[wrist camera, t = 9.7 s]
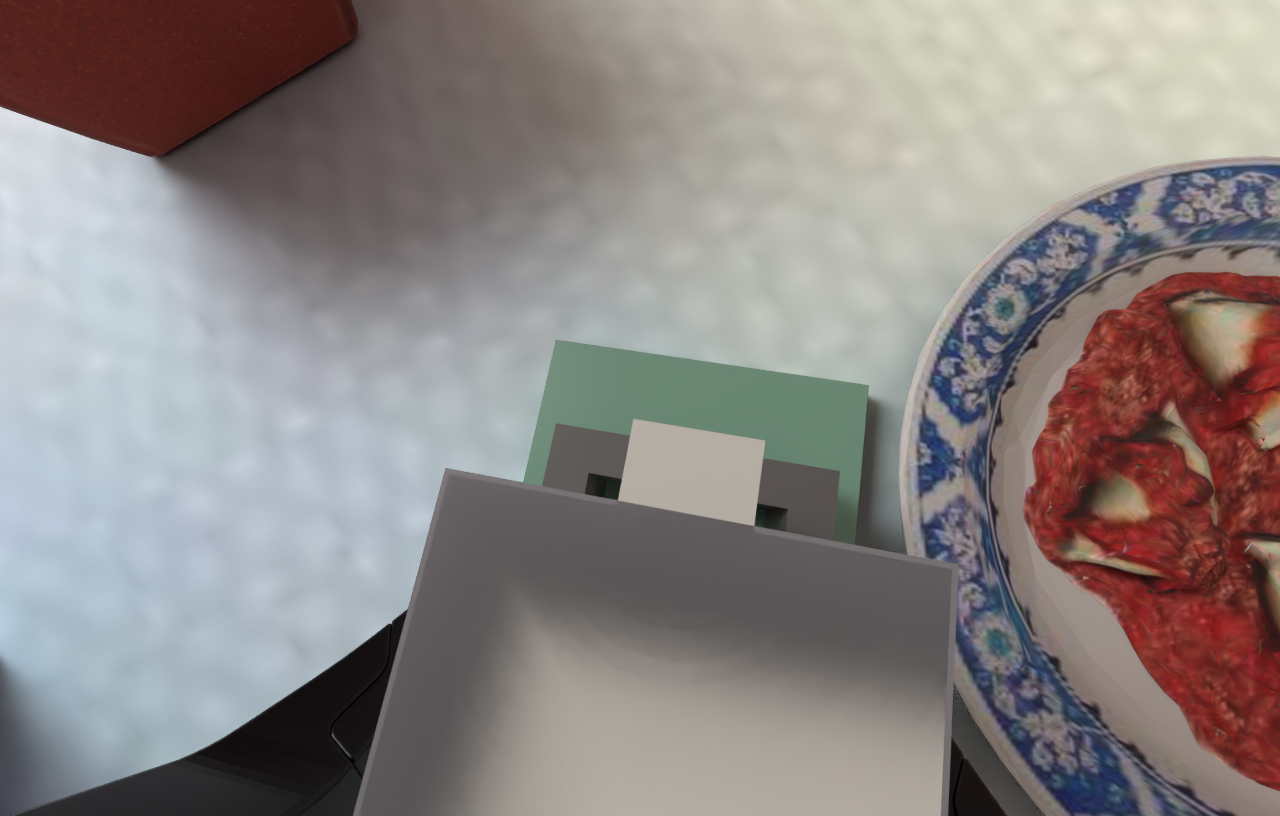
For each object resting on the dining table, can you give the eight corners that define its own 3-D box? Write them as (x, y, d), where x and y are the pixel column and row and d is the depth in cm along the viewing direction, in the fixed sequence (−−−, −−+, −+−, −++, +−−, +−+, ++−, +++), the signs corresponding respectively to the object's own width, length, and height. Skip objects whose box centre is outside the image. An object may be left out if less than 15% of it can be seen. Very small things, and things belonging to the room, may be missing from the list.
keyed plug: (726, 660, 16) (928, 1311, 3) (596, 631, 16) (284, 1070, 3) (748, 502, 17) (962, 472, 4) (624, 480, 17) (465, 390, 4)
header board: (816, 870, 15) (872, 1019, 11) (465, 775, 16) (386, 871, 12) (858, 392, 18) (915, 354, 14) (562, 348, 20) (528, 301, 15)
